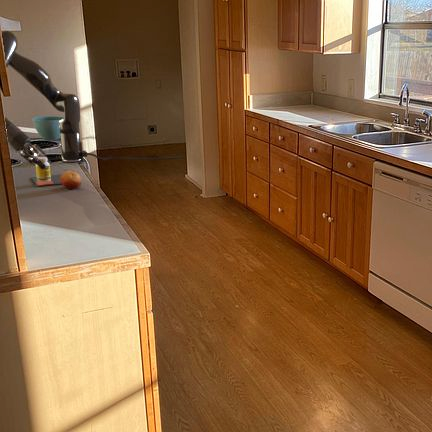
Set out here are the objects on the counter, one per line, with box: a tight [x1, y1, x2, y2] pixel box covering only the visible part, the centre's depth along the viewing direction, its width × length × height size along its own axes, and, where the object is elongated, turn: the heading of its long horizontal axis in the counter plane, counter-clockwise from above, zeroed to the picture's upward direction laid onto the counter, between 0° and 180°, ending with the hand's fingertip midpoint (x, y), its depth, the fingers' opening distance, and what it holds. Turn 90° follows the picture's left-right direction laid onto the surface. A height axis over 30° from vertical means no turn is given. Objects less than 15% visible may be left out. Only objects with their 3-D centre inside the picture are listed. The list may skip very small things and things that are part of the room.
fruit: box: [61, 170, 82, 190], centre depth 236 cm, size 8×8×8 cm
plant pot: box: [32, 115, 65, 141], centre depth 336 cm, size 18×18×12 cm
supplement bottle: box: [35, 156, 52, 182], centre depth 239 cm, size 5×5×10 cm
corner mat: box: [31, 174, 62, 188], centre depth 247 cm, size 16×16×1 cm
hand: (47, 166), depth 239 cm, fingers closed on supplement bottle, 5 cm apart
